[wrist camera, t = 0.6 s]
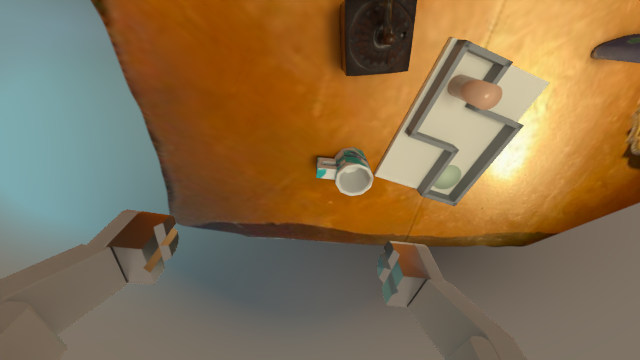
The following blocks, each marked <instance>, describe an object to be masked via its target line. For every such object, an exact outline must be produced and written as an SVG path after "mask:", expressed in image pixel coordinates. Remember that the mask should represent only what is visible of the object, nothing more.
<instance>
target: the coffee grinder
mask: <svg viewBox="0 0 640 360" xmlns="http://www.w3.org/2000/svg"><path fill="white" fill-rule="evenodd" d="M416 5H417V0H344V2H343V3H342V4H341V6H340V47H341V63H342V70H343V71H344V73H345V75H346V76H362V75H375V74H387V73H397V72H403V71H408V67H409V61H410V54H411V47H412V39H413V31H414V22H415V15H416Z"/></svg>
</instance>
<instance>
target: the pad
mask: <svg viewBox="0 0 640 360" xmlns="http://www.w3.org/2000/svg"><path fill="white" fill-rule="evenodd" d="M460 178H461V170H460V169H459V168H458V167H457V166H455V165H448V166H447V167H446V169H445V170H444V172H443V173H442V174H441V176H440V177H439V178H438V180H437V181H436V182H435V184H434V187H436V188H438V189H448V188H451V187H453V186H454V185H455V184H457V183H458V181H459V180H460Z"/></svg>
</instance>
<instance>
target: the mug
mask: <svg viewBox="0 0 640 360" xmlns="http://www.w3.org/2000/svg"><path fill="white" fill-rule="evenodd" d="M316 178H325V179H335V184H336V185H337V187H338V189H339V190H340V192H342V193H344V194H347V195H350V196H353V195H360V194H363V193H364V192H365V191H367V190H368V189H369V188H371V185H372V182H373V178H374V177H373V174H372V172H371V169H370V167H369V164H368V161H367V159H366V157H365V155H364V153H363V151H361V150H359V149H357V148H355V147H350V148H345V149H342V150H341V151H340V152H339V153H338V154H336V155H335V158H334V159H330V158H321V157H318V158H317V165H316Z"/></svg>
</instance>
